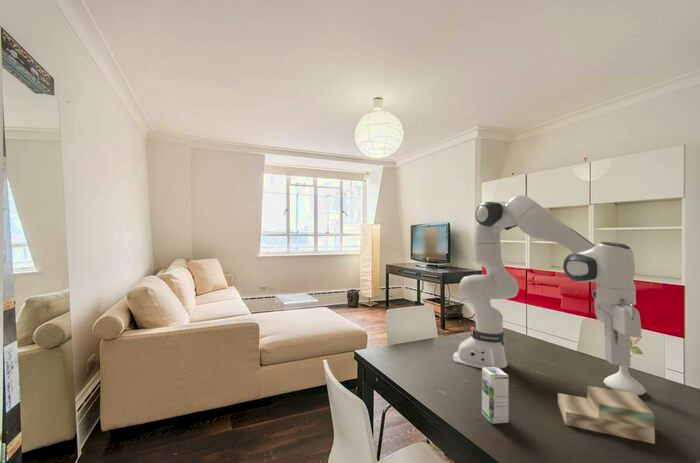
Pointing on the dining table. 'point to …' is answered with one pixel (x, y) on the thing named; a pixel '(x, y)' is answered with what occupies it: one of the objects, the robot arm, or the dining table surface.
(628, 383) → the flower in vase
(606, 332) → the grey column
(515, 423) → the dining table surface
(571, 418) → the step stand
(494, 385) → the syrup box
